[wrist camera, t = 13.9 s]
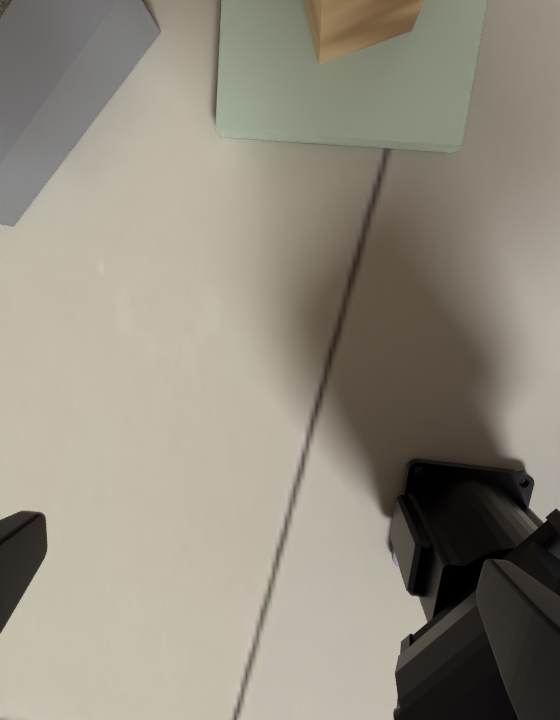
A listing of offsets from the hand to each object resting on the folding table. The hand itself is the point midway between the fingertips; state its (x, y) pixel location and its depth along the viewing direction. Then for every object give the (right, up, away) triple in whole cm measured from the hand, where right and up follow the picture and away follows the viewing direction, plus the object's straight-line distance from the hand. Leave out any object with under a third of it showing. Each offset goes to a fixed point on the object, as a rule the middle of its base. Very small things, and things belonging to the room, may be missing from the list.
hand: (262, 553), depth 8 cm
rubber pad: (+3, +19, +9) cm, 22 cm away
